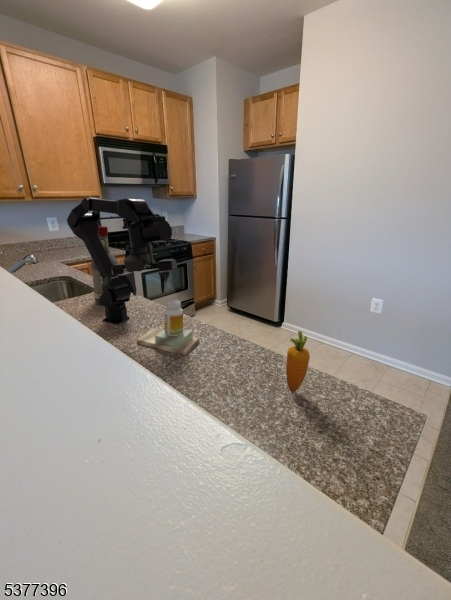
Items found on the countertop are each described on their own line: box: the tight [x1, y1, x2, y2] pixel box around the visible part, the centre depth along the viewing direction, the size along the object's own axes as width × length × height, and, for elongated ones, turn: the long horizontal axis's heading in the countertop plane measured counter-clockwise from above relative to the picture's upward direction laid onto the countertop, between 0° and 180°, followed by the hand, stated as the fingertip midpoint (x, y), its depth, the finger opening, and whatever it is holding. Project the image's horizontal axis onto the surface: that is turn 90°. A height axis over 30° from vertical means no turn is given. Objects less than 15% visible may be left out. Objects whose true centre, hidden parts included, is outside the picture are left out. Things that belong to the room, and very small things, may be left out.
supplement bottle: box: [163, 299, 184, 336], centre depth 80 cm, size 5×5×10 cm
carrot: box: [285, 330, 311, 393], centre depth 61 cm, size 5×5×15 cm
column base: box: [136, 327, 200, 356], centre depth 82 cm, size 16×9×4 cm, turn 70°
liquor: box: [90, 225, 120, 307], centre depth 108 cm, size 9×9×30 cm
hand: (149, 294), depth 85 cm, fingers open, 9 cm apart
